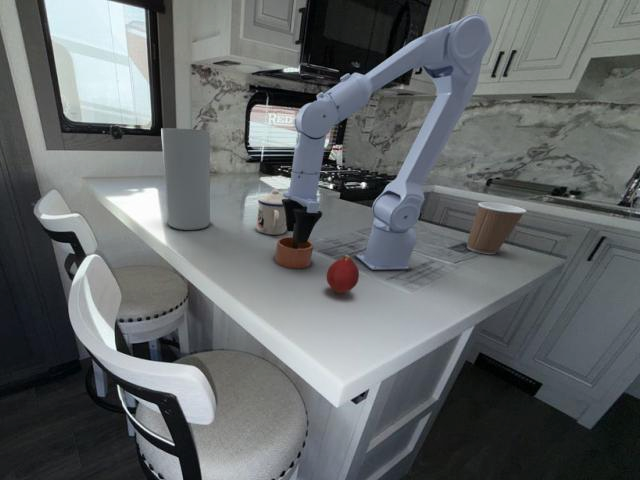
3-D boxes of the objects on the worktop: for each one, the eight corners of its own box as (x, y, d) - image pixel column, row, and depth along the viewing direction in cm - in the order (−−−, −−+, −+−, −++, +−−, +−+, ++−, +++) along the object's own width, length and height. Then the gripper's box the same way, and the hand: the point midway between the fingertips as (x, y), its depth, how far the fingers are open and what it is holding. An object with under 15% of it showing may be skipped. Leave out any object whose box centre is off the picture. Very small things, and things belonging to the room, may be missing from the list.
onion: (331, 283, 63) (339, 246, 59) (358, 292, 60) (369, 254, 56) (318, 293, 59) (326, 254, 55) (346, 304, 56) (357, 264, 52)
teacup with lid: (254, 225, 95) (257, 186, 89) (283, 226, 95) (288, 187, 89) (258, 238, 84) (261, 195, 78) (290, 239, 85) (296, 196, 79)
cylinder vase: (175, 233, 85) (169, 130, 72) (162, 220, 94) (155, 127, 81) (216, 228, 90) (217, 132, 77) (200, 217, 99) (199, 129, 87)
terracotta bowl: (303, 254, 76) (306, 236, 74) (315, 268, 69) (318, 249, 67) (271, 254, 75) (273, 236, 73) (280, 268, 68) (282, 249, 66)
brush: (298, 257, 73) (303, 222, 69) (301, 261, 71) (307, 225, 67) (283, 257, 73) (288, 222, 68) (286, 261, 70) (291, 225, 66)
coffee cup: (511, 255, 83) (535, 210, 77) (487, 258, 80) (510, 212, 74) (475, 242, 92) (494, 201, 85) (451, 245, 88) (469, 202, 82)
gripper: (277, 166, 68) (271, 226, 74) (298, 177, 55) (288, 248, 62) (308, 167, 69) (299, 226, 76) (334, 178, 56) (320, 248, 63)
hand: (296, 236), depth 69 cm, fingers open, 7 cm apart
